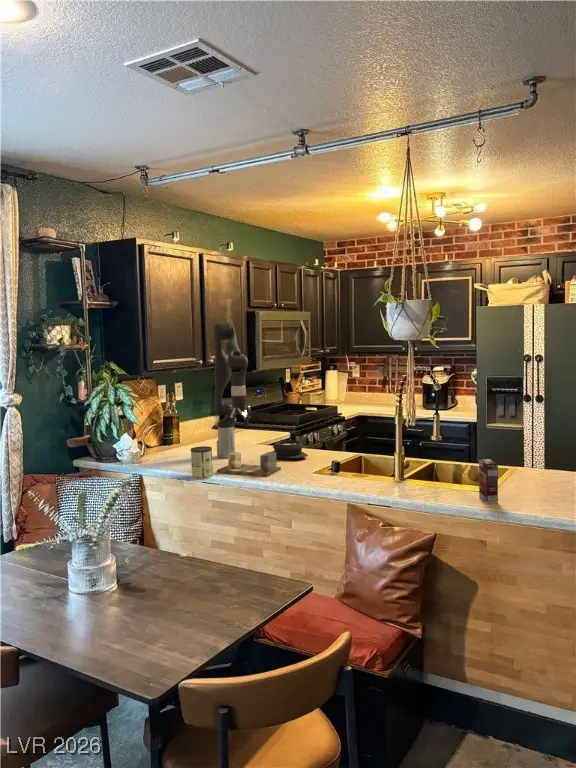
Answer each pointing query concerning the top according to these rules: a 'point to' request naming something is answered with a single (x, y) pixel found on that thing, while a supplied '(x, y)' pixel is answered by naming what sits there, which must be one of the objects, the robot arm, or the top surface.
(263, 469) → the board
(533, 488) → the top surface
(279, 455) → the casserole
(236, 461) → the tan wooden block
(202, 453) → the coffee can
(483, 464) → the supplement box
